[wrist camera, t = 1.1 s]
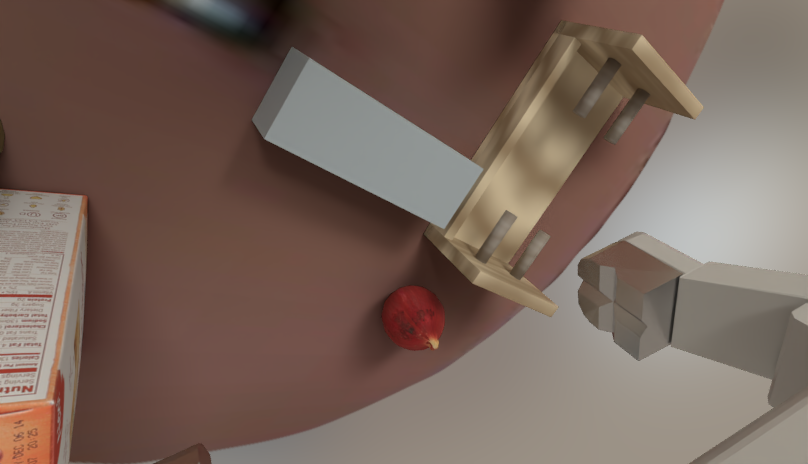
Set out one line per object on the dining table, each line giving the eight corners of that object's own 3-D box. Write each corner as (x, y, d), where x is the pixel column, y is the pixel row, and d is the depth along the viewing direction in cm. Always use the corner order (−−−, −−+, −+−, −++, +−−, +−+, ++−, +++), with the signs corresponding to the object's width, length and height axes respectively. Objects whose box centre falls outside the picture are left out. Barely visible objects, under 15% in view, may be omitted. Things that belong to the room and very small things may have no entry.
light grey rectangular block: (250, 118, 38) (264, 139, 34) (290, 45, 37) (309, 58, 33) (418, 205, 48) (444, 229, 44) (454, 149, 47) (483, 169, 43)
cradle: (561, 20, 45) (641, 34, 38) (624, 84, 51) (704, 107, 44) (423, 234, 49) (472, 283, 42) (497, 269, 56) (551, 317, 48)
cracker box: (87, 356, 41) (53, 640, 24) (-9, 360, 38) (-124, 687, 21) (96, 191, 36) (61, 407, 19) (-15, 182, 33) (-170, 427, 16)
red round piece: (358, 309, 50) (391, 362, 44) (393, 262, 49) (431, 309, 43) (401, 327, 54) (437, 378, 47) (434, 283, 53) (475, 329, 46)
